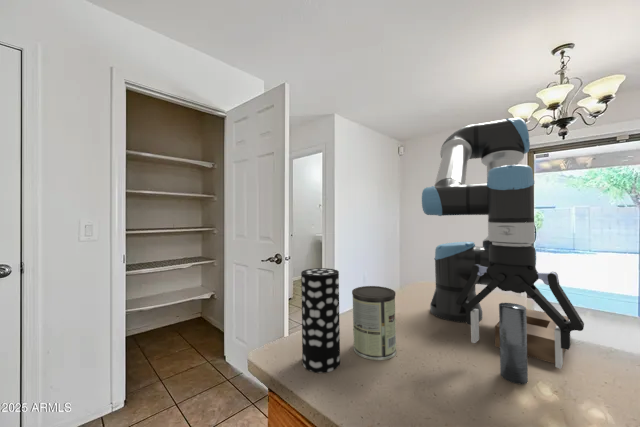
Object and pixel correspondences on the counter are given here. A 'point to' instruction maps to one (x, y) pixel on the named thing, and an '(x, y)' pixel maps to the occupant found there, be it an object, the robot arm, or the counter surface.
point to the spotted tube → (320, 319)
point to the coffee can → (374, 322)
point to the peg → (513, 343)
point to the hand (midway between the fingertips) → (513, 352)
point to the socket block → (537, 335)
